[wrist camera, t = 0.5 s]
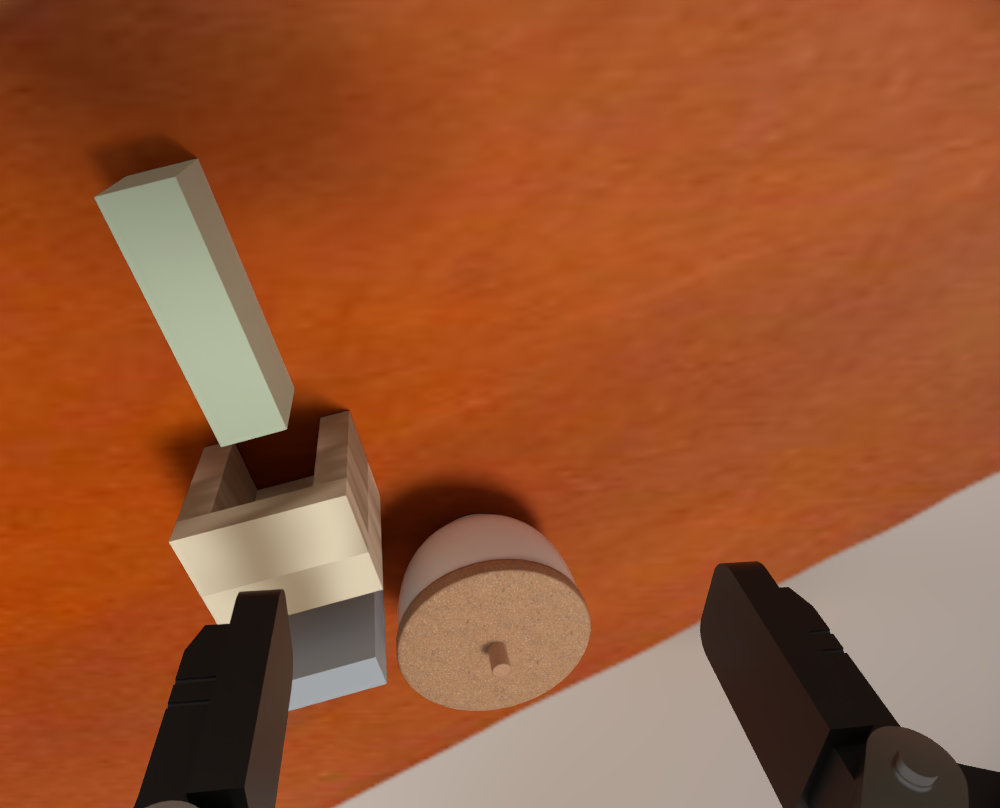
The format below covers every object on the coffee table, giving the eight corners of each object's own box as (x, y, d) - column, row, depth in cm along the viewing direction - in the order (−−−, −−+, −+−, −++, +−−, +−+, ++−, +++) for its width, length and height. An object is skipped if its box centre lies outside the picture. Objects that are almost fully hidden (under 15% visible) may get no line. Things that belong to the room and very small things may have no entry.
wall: (373, 525, 42) (375, 657, 33) (382, 549, 43) (386, 683, 34) (275, 551, 41) (252, 691, 33) (286, 574, 42) (267, 716, 34)
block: (349, 410, 38) (346, 495, 31) (379, 495, 41) (383, 589, 34) (204, 447, 37) (168, 542, 30) (246, 530, 40) (222, 632, 33)
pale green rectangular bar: (198, 157, 30) (175, 176, 27) (295, 387, 37) (286, 429, 33) (127, 175, 30) (93, 197, 27) (235, 403, 36) (221, 447, 33)
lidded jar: (480, 634, 48) (504, 760, 40) (356, 567, 43) (354, 694, 35) (591, 535, 45) (640, 648, 37) (470, 452, 40) (497, 561, 32)
